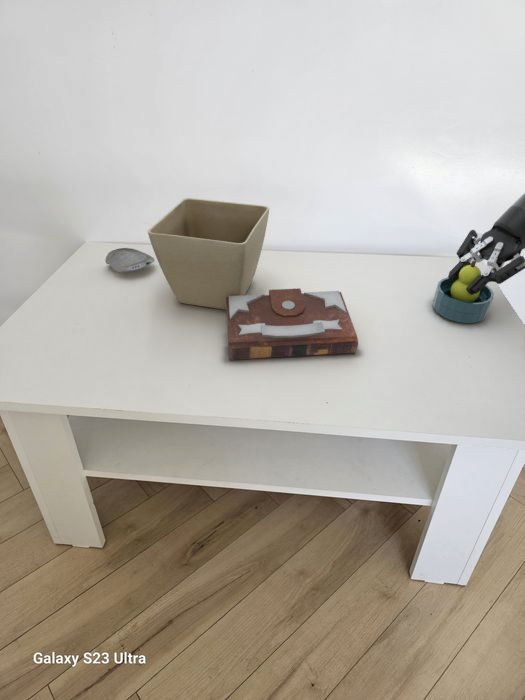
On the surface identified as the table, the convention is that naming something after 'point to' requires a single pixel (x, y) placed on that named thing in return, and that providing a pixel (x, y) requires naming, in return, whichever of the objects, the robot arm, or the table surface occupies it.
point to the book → (289, 324)
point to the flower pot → (209, 249)
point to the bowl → (461, 304)
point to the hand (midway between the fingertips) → (459, 285)
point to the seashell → (128, 259)
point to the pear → (465, 283)
